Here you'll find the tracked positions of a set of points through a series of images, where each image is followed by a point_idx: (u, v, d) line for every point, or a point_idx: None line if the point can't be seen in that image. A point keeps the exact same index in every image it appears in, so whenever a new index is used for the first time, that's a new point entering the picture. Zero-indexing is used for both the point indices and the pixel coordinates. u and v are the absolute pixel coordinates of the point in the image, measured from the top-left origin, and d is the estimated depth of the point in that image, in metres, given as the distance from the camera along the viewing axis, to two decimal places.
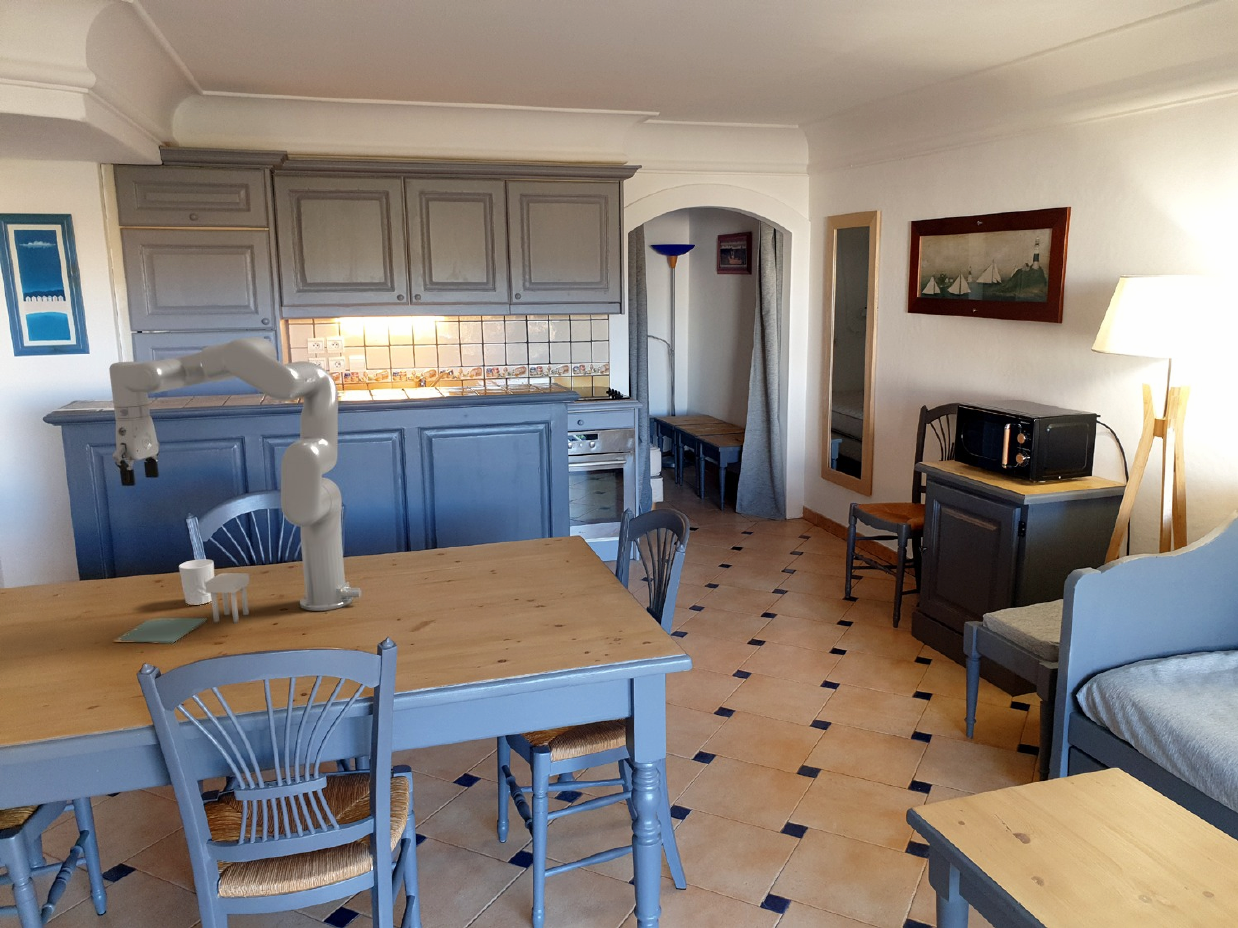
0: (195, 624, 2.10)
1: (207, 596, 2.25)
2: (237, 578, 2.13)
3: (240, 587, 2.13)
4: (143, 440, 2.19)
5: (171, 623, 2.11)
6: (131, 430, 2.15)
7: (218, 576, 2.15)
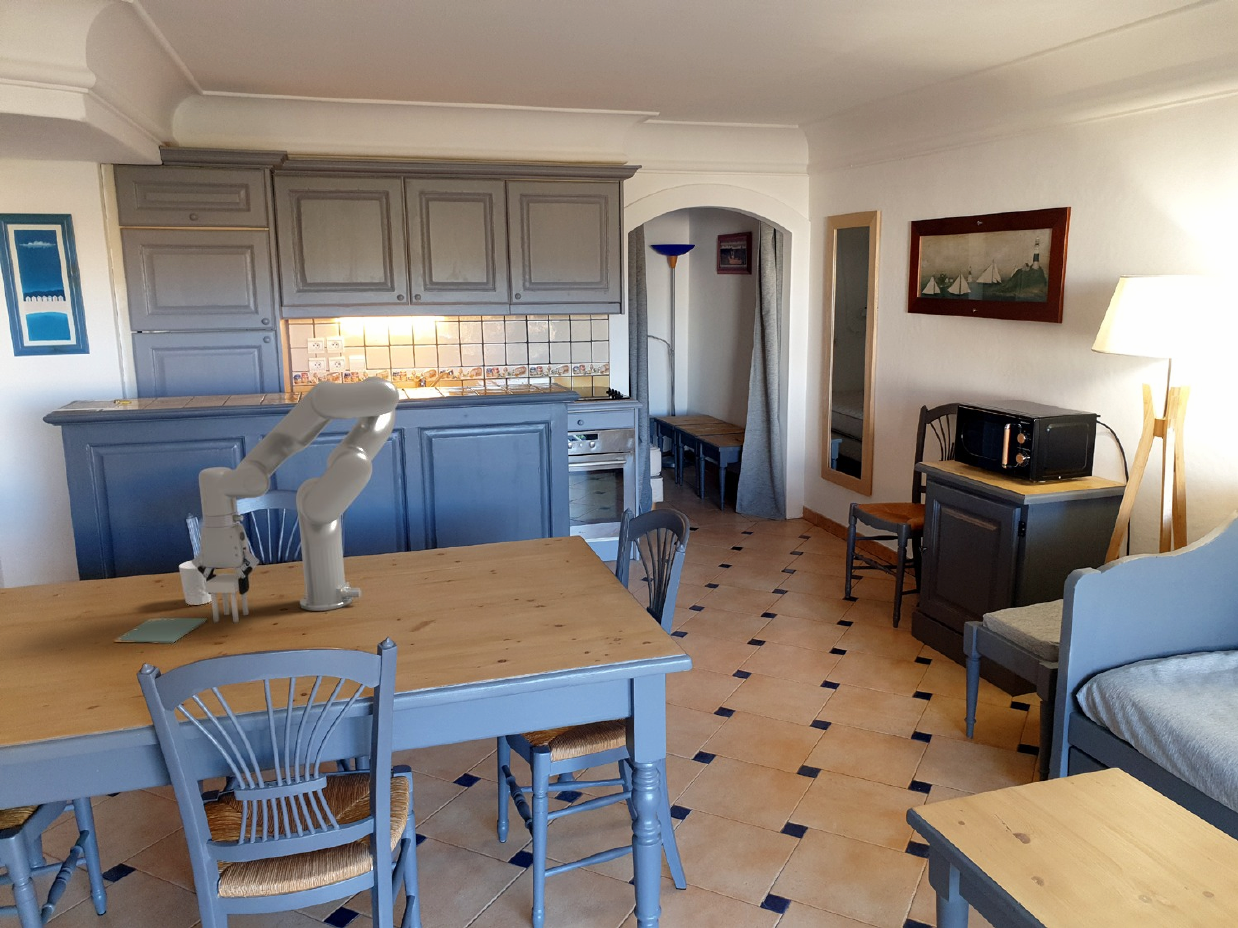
0: (195, 624, 2.10)
1: (207, 596, 2.25)
2: (237, 578, 2.13)
3: None
4: None
5: (171, 623, 2.11)
6: None
7: (218, 576, 2.15)
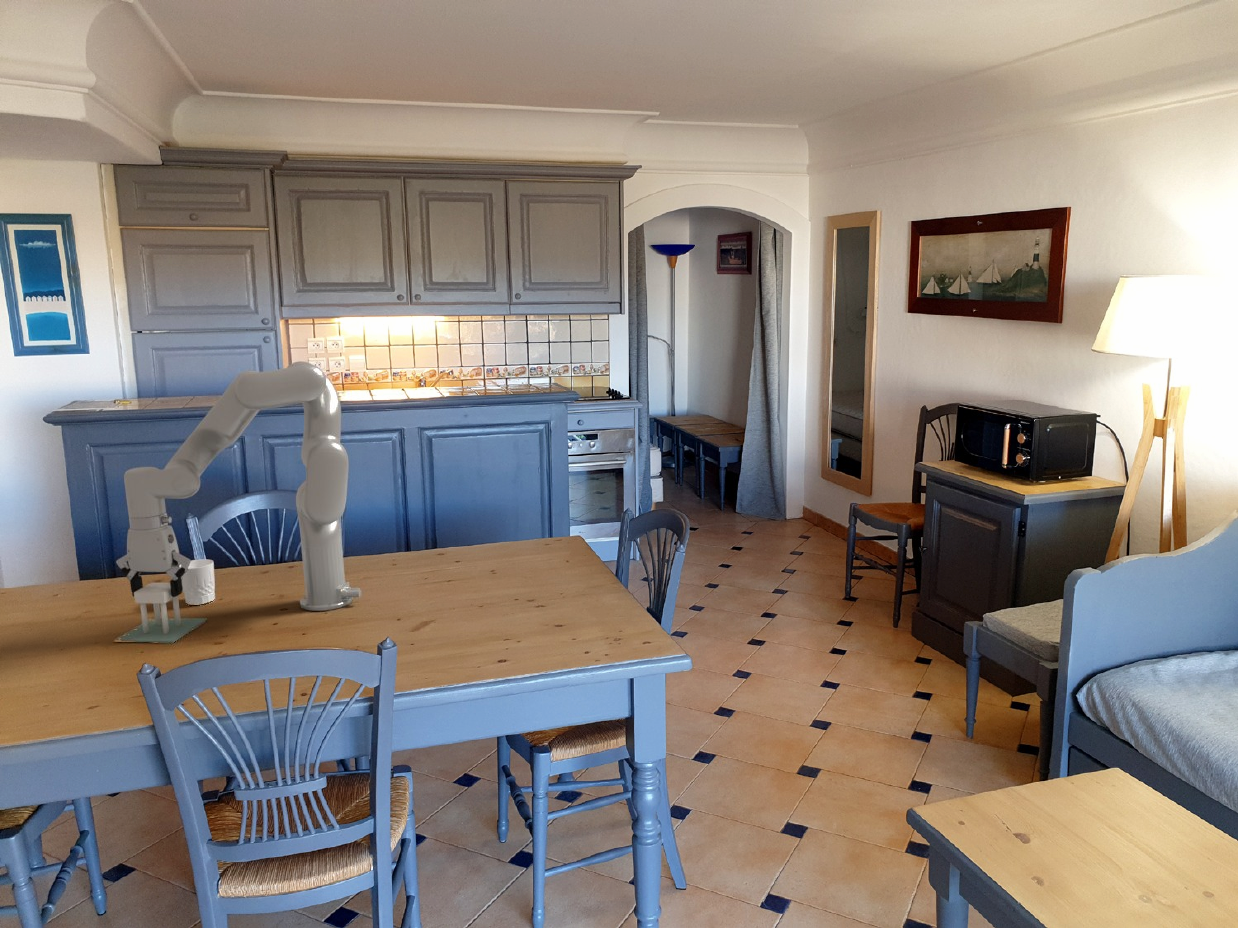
0: (195, 624, 2.10)
1: (207, 596, 2.25)
2: (168, 588, 2.05)
3: (171, 597, 2.05)
4: None
5: (171, 623, 2.11)
6: (174, 535, 2.05)
7: (148, 586, 2.07)
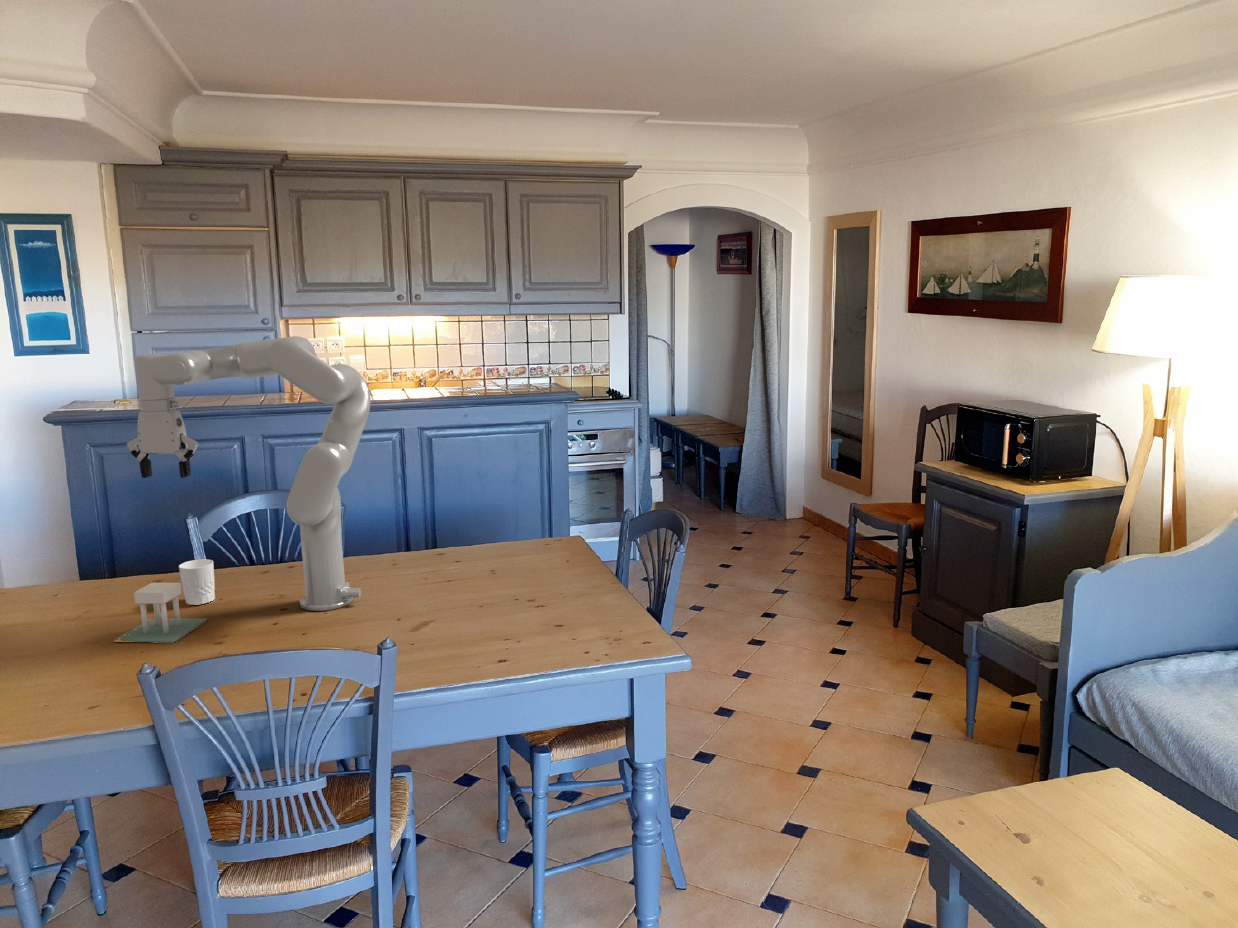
0: (195, 624, 2.10)
1: (207, 596, 2.25)
2: (167, 588, 2.05)
3: (170, 597, 2.05)
4: None
5: (171, 623, 2.11)
6: (182, 420, 2.15)
7: (148, 586, 2.07)
